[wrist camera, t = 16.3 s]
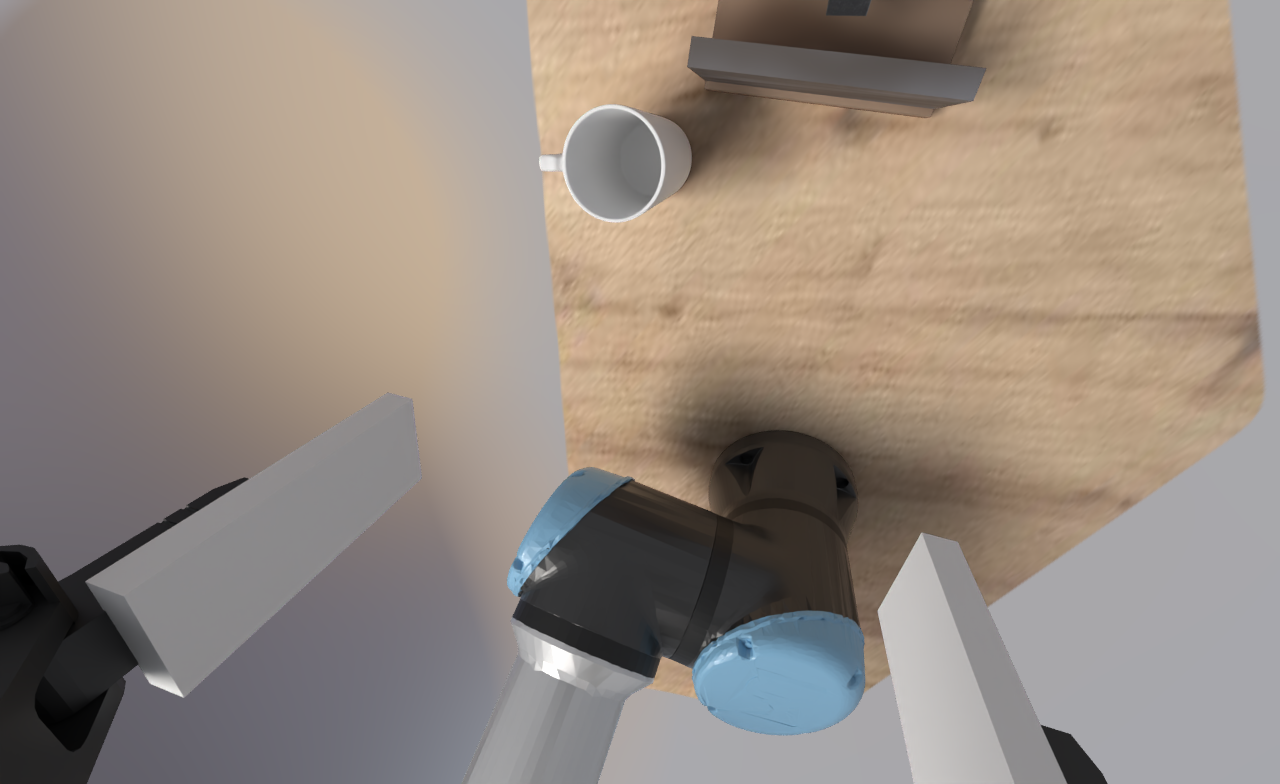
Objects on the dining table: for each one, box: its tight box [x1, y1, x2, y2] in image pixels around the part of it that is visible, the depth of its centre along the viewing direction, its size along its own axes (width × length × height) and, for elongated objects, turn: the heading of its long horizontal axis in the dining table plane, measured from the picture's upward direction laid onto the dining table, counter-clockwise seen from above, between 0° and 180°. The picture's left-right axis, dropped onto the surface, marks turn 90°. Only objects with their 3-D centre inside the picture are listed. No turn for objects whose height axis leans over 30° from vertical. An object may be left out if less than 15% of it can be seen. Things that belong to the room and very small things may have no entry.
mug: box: [539, 104, 692, 222], centre depth 36 cm, size 10×7×12 cm, turn 88°
